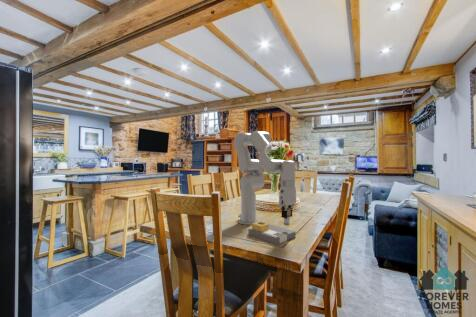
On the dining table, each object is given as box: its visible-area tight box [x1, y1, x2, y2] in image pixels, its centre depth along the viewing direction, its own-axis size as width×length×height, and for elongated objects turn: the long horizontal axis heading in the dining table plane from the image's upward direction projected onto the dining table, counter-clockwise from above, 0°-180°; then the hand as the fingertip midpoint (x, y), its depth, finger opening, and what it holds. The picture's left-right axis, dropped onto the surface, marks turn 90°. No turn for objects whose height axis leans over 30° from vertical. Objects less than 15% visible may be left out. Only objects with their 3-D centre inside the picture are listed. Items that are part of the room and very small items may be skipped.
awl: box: [283, 206, 291, 226], centre depth 124 cm, size 4×4×9 cm
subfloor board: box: [247, 223, 297, 245], centre depth 126 cm, size 20×16×3 cm
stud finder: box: [251, 221, 270, 232], centre depth 127 cm, size 7×6×3 cm
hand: (286, 216), depth 124 cm, fingers closed on awl, 4 cm apart
